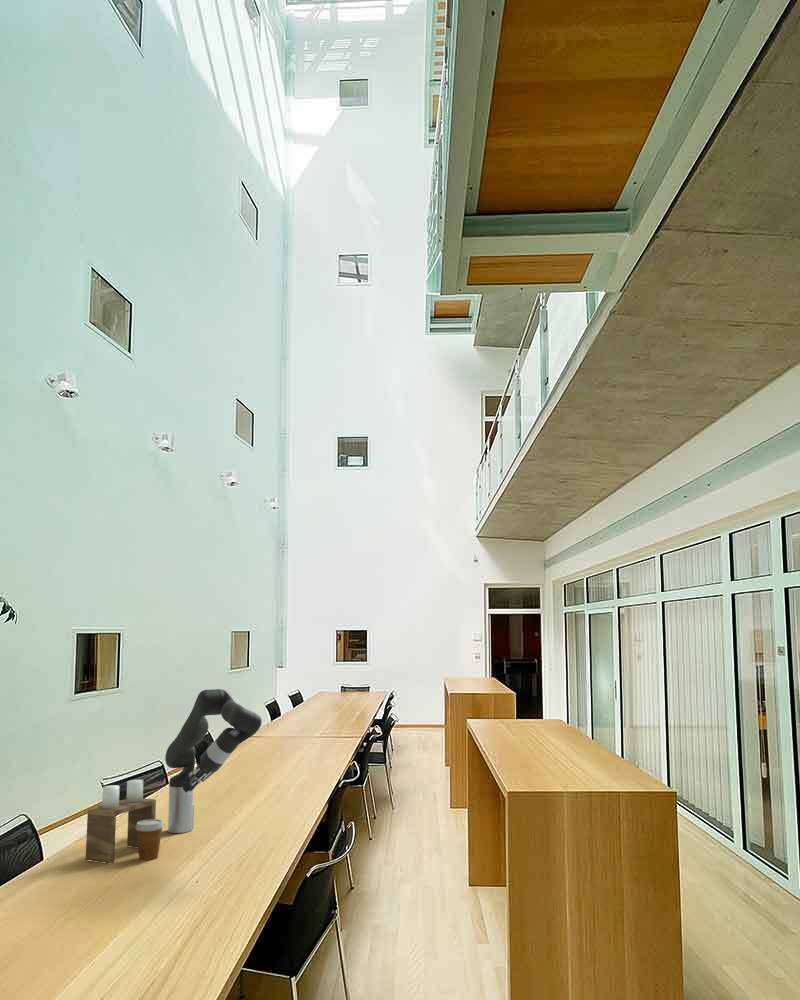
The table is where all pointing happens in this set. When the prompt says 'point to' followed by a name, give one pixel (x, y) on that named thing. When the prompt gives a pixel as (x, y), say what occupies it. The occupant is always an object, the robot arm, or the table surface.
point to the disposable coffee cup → (149, 838)
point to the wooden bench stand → (114, 827)
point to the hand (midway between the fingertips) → (186, 789)
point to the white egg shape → (134, 791)
